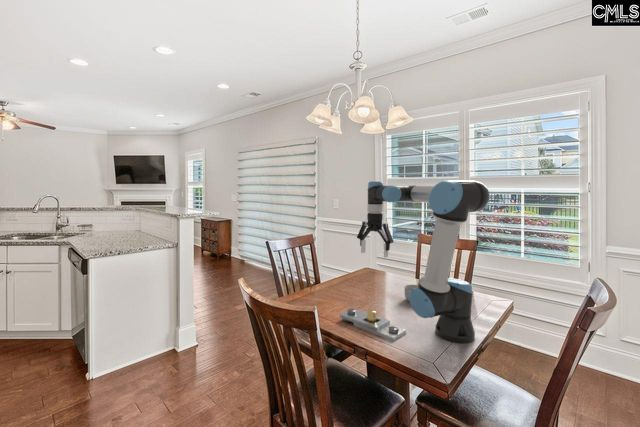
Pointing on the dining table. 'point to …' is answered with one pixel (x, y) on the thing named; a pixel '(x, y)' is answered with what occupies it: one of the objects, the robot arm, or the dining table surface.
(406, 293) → the teacup
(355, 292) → the dining table surface
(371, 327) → the grey peg base plate
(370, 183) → the robot arm
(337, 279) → the dining table surface
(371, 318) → the brass pin
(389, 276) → the dining table surface
